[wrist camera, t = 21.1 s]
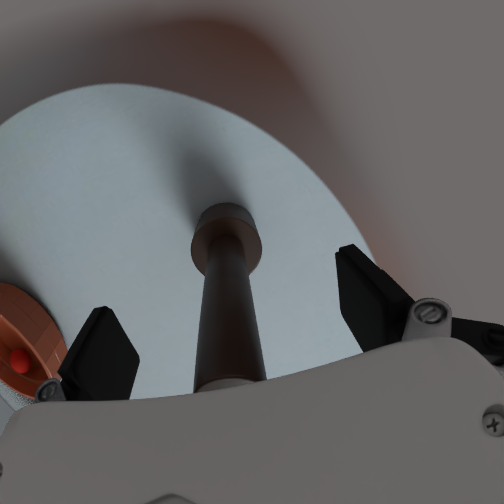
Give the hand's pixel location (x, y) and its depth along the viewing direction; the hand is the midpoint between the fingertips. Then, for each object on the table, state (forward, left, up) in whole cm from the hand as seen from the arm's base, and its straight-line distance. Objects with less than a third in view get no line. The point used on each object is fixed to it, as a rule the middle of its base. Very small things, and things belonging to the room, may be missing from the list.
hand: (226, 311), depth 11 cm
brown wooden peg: (0, 0, -11) cm, 11 cm away
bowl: (+5, -26, -11) cm, 29 cm away
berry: (+8, -28, -9) cm, 31 cm away
